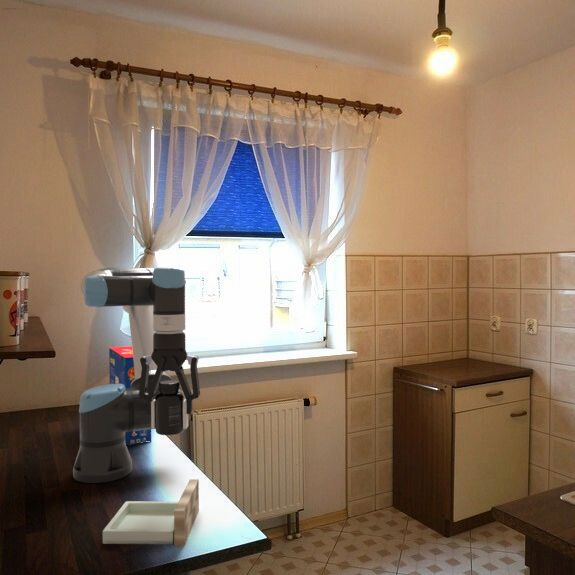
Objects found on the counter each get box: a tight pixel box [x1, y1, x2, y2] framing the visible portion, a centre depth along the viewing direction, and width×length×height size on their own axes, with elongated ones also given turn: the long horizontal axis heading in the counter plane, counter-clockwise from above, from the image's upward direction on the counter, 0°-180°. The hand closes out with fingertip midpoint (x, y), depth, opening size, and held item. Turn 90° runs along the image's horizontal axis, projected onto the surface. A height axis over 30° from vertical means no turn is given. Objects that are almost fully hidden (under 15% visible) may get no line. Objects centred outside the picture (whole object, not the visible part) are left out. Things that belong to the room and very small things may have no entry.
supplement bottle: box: [155, 379, 185, 436], centre depth 125 cm, size 7×7×12 cm
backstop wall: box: [173, 478, 200, 547], centre depth 111 cm, size 16×2×7 cm, turn 0°
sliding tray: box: [102, 500, 179, 545], centre depth 111 cm, size 14×14×2 cm
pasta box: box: [108, 345, 152, 446], centre depth 179 cm, size 28×8×28 cm, turn 29°
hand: (170, 427), depth 126 cm, fingers closed on supplement bottle, 7 cm apart
